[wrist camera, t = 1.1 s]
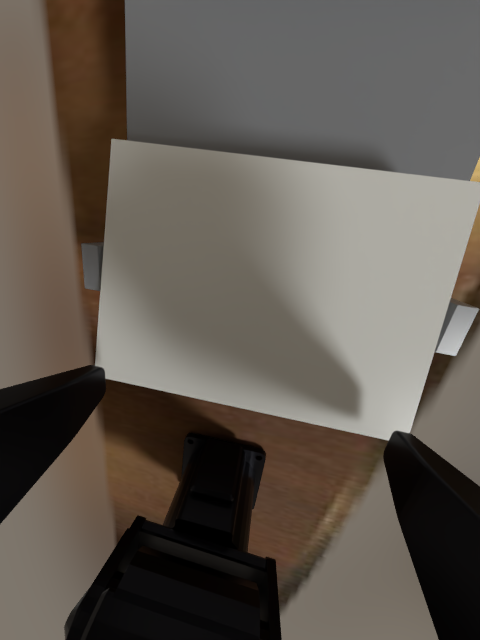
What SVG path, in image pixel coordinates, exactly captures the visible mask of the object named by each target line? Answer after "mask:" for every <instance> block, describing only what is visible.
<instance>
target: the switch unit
mask: <svg viewBox="0 0 480 640" xmlns="http://www.w3.org/2000/svg"><path fill="white" fill-rule="evenodd" d="M125 37H126V97H127V141H136V142H144V143H153V144H161V145H169V146H178V147H186V148H195V149H203V150H212V151H220V152H228V153H237V154H245V155H254V156H262V157H271V158H279V159H287V160H296V161H304V162H313V163H321V164H330V165H338V166H346V167H355V168H363V169H372V170H380V171H389V172H397V173H405V174H414V175H422V176H431V177H439V178H448V179H456V180H464V181H470V179H471V177H472V174H473V172H474V169H475V167H476V164H477V162H478V159H479V157H480V0H125ZM81 245H82V258H83V270H84V283H85V288H87V289H92V290H98V291H100V290H101V276H102V263H103V249H104V242H98V243H81ZM478 310H479V308H476V307H473V306H471V305H468V304H466V303H463V302H460V301H458V300H455V299H453V298H451V299H450V302H449V305H448V309H447V312H446V315H445V319H444V322H443V325H442V328H441V332H440V335H439V338H438V342H437V345H436V348H435V352H437V353H443V354H448V355H454V356H456V354H457V352H458V350H459V348H460V346H461V344H462V342H463V340H464V338H465V336H466V334H467V332H468V330H469V328H470V326H471V324H472V322H473V320H474V318H475V316H476V314H477V312H478Z"/></svg>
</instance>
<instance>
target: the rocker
mask: <svg viewBox="0 0 480 640" xmlns="http://www.w3.org/2000/svg"><path fill="white" fill-rule="evenodd" d="M479 203H480V182H473V181H464V180H456V179H448V178H439V177H431V176H422V175H414V174H405V173H397V172H389V171H380V170H372V169H363V168H355V167H346V166H338V165H330V164H321V163H313V162H304V161H296V160H287V159H279V158H271V157H262V156H254V155H245V154H237V153H228V152H220V151H212V150H203V149H195V148H186V147H178V146H169V145H161V144H153V143H144V142H136V141H127V140H119V139H111V153H110V167H109V180H108V194H107V208H106V221H105V235H104V249H103V263H102V276H101V290H100V304H99V317H98V331H97V345H96V358H95V366H99V367H102V368H104V370H105V379H110V380H115V381H119V382H124V383H128V384H133V385H137V386H142V387H147V388H151V389H156V390H160V391H165V392H169V393H174V394H179V395H183V396H188V397H192V398H197V399H201V400H206V401H211V402H215V403H220V404H224V405H229V406H233V407H238V408H243V409H247V410H252V411H256V412H261V413H265V414H270V415H275V416H279V417H284V418H288V419H293V420H297V421H302V422H307V423H311V424H316V425H320V426H325V427H330V428H334V429H339V430H343V431H348V432H352V433H357V434H362V435H366V436H371V437H375V438H380V439H384V440H389V439H390V437H391V434H392V433H393V432H394V431H402V432H407V433H410V431H411V427H412V424H413V421H414V417H415V414H416V411H417V407H418V404H419V401H420V398H421V394H422V391H423V388H424V384H425V381H426V378H427V375H428V371H429V368H430V365H431V361H432V358H433V355H434V352H435V348H436V345H437V342H438V338H439V335H440V332H441V328H442V325H443V322H444V319H445V315H446V312H447V309H448V305H449V302H450V299H451V296H452V292H453V289H454V286H455V282H456V279H457V276H458V272H459V269H460V266H461V263H462V259H463V256H464V253H465V249H466V246H467V243H468V240H469V236H470V233H471V230H472V226H473V223H474V220H475V217H476V213H477V210H478V207H479Z"/></svg>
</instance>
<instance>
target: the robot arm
mask: <svg viewBox="0 0 480 640" xmlns="http://www.w3.org/2000/svg"><path fill="white" fill-rule="evenodd" d="M105 391H106V381H105V370H104V368H102V367H99V366H94V365H88V366H85V367H81V368H77V369H74V370H70V371H66V372H63V373H59V374H55V375H51V376H48V377H44V378H40V379H37V380H33V381H29V382H26V383H22V384H18V385H14V386H11V387H7V388H3V389H0V523H2V521H3V520H4V519H5V518H6V517H7V516H8V514H9V513H10V512H11V511H12V510H13V508H14V507H15V506H16V505H17V504H18V503H19V502H20V500H21V499H22V498H23V497H24V496H25V495H26V493H27V492H28V491H29V490H30V489H31V488H32V486H33V485H34V484H35V483H36V482H37V481H38V479H39V478H40V477H41V476H42V475H43V474H44V472H45V471H46V470H47V469H48V468H49V466H50V465H51V464H52V463H53V462H54V461H55V459H56V458H57V457H58V456H59V455H60V454H61V453H62V451H63V450H64V449H65V448H66V447H67V445H68V444H69V443H70V442H71V441H72V439H73V438H74V437H75V435H76V434H77V433H78V431H79V430H80V429H81V427H82V426H83V425H84V423H85V422H86V420H87V419H88V417H89V416H90V415H91V413H92V412H93V410H94V409H95V408H96V406H97V405H98V403H99V402H100V401H101V399H102V398H103V396H104V394H105ZM190 439H191V440H190ZM258 455H260V456H258ZM383 457H384V463H385V468H386V472H387V475H388V480H389V484H390V488H391V492H392V496H393V501H394V505H395V509H396V513H397V517H398V520H399V523H400V526H401V529H402V532H403V535H404V538H405V541H406V544H407V547H408V550H409V553H410V556H411V559H412V562H413V565H414V568H415V571H416V574H417V577H418V579H419V583H420V585H421V588H422V591H423V594H424V597H425V600H426V603H427V606H428V609H429V612H430V615H431V618H432V621H433V624H434V627H435V630H436V633H437V635H438V639H439V640H480V486H478V485H477V484H476V483H474V482H473V481H472V480H471V479H469V478H468V477H467V476H465V475H464V474H463V473H461V472H460V471H459V470H458V469H456V468H455V467H454V466H452V465H451V464H450V463H449V462H447V461H446V460H445V459H443V458H442V457H441V456H439V455H438V454H437V453H436V452H434V451H433V450H432V449H430V448H429V447H428V446H426V445H425V444H423V442H421V441H420V440H419V439H417V438H416V437H415V436H413V435H412V434H410V433H407V432H402V431H394V432H393V433H392V434H391V437H390V439H389V441H388V443H387V446H386V448H385V450H384V455H383ZM265 458H266V453H265V451H264V450H262V449H259V448H254V447H250V446H246V445H242V444H237V443H233V442H229V441H224V440H220V439H216V438H211V437H207V436H203V435H199V434H194V433H188V434H187V435H186V438H185V440H184V452H183V465H182V478H181V481H180V483H179V486H178V488H177V491H176V493H175V496H174V498H173V501H172V503H171V506H170V508H169V511H168V513H167V515H166V518H165V520H164V523H163V525H160V524H157V523H154V522H151V521H148V520H146V518H145V517H142V516H137V517H136V519H135V520H134V522H133V523H132V525H131V527H130V528H127V530H126V531H125V533H124V534H123V536H122V538H121V539H120V541H119V542H118V544H117V546H116V547H115V549H114V550H113V552H112V554H111V555H110V557H109V558H108V560H107V562H106V563H105V565H104V566H103V568H102V569H101V571H100V573H99V574H98V576H97V577H96V579H95V580H94V582H93V584H92V585H91V587H90V588H89V589H88V591H87V592H86V593H85V594H84V596H83V597H82V598H81V600H80V601H79V602H78V603H77V605H76V606H75V607H74V609H73V610H72V611H71V613H70V615H69V617H68V619H67V621H66V624H65V627H64V630H65V640H281V627H280V613H279V600H278V586H277V573H276V561H275V559H272V558H269V557H266V558H263V557H260V556H256V555H253V554H250V553H247V552H248V543H249V533H250V523H251V514H252V509H254V506H255V502H256V498H257V493H258V489H259V485H260V480H261V476H262V472H263V468H264V463H265Z"/></svg>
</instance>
